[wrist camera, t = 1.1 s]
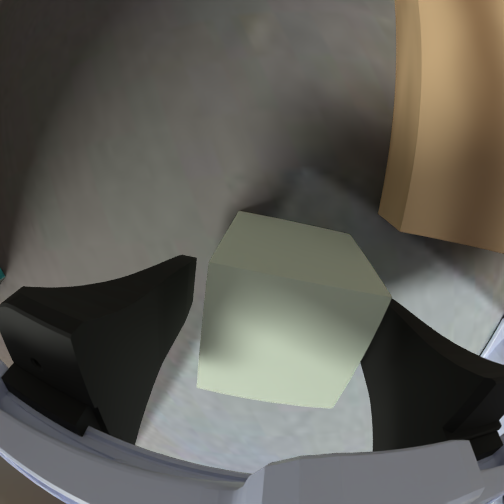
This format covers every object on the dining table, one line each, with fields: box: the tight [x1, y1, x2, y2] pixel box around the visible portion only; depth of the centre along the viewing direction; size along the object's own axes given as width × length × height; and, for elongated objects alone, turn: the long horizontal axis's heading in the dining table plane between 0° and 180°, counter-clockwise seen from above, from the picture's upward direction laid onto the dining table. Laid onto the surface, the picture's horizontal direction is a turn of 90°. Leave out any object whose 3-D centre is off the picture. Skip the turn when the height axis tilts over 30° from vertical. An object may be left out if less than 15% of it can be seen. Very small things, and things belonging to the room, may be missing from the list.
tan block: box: [378, 0, 504, 254], centre depth 8 cm, size 8×14×3 cm, turn 174°
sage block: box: [197, 211, 392, 409], centre depth 10 cm, size 5×5×6 cm
